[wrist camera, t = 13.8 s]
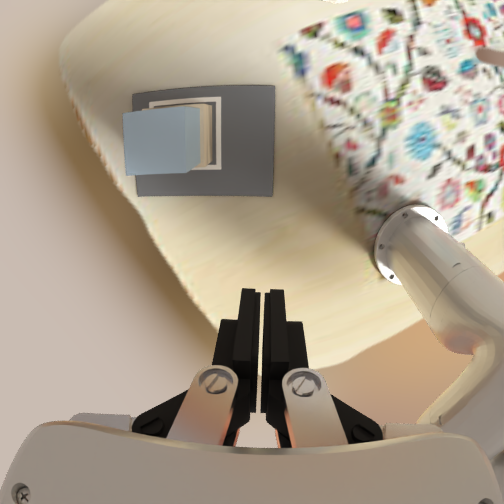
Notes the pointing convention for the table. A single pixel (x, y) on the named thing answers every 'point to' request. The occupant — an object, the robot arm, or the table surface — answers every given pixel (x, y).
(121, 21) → the table surface
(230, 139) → the mat
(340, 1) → the white cup
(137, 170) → the blue block
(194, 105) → the base block
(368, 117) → the table surface
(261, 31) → the table surface
